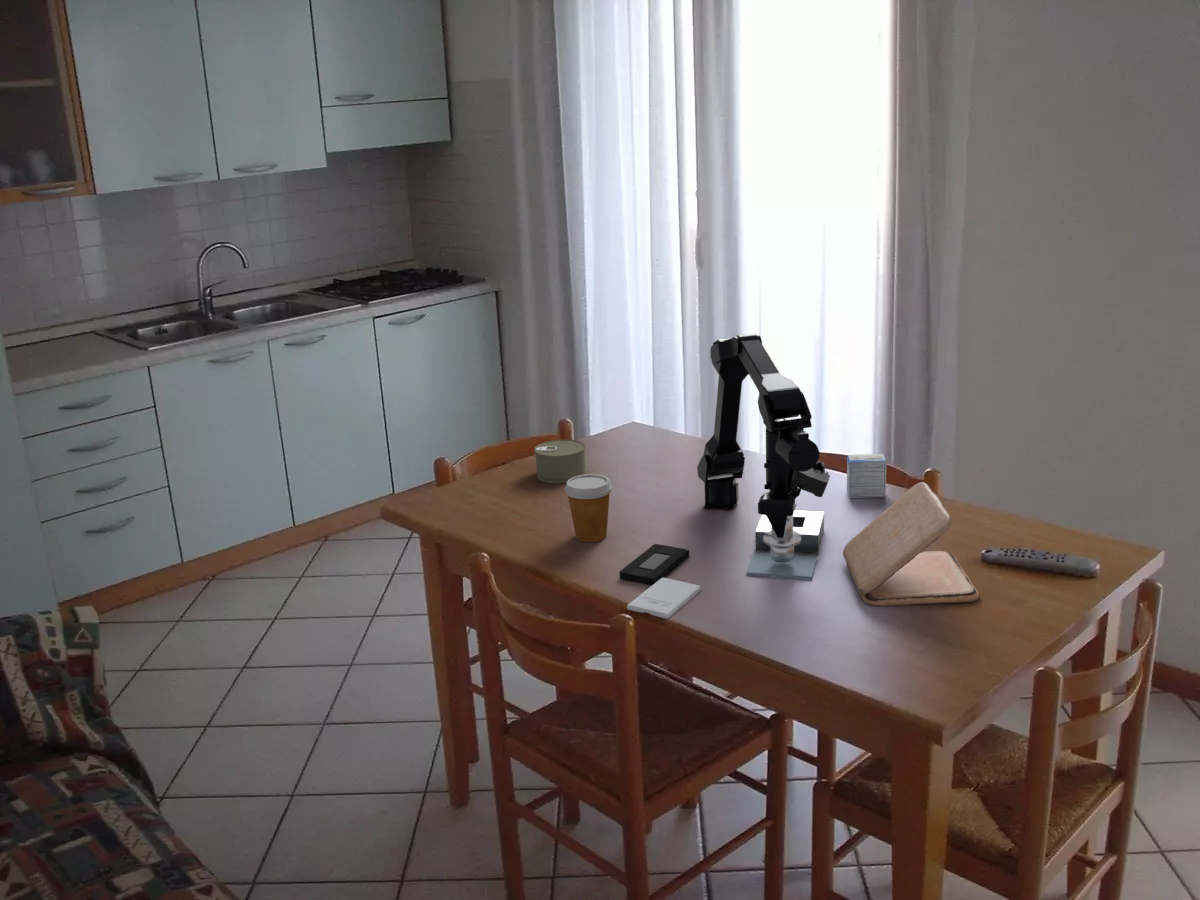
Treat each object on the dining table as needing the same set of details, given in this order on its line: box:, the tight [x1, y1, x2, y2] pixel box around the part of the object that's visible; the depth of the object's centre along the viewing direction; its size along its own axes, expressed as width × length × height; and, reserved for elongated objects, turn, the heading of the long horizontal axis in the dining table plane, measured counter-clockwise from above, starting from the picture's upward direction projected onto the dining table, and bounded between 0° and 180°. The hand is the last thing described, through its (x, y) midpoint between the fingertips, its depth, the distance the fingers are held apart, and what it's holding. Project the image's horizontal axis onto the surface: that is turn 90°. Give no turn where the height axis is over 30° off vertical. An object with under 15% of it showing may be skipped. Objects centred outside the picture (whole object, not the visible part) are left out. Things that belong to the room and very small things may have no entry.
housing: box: [755, 509, 825, 555], centre depth 226 cm, size 12×12×4 cm
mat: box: [746, 552, 818, 581], centre depth 215 cm, size 12×9×1 cm
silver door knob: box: [763, 515, 801, 563], centre depth 213 cm, size 7×7×8 cm
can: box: [533, 439, 587, 484], centre depth 270 cm, size 12×12×7 cm
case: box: [842, 481, 980, 607], centre depth 204 cm, size 20×21×16 cm
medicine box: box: [846, 453, 888, 499], centre depth 246 cm, size 8×4×9 cm, turn 84°
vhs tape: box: [619, 543, 690, 587], centre depth 218 cm, size 8×14×2 cm, turn 149°
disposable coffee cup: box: [564, 473, 613, 543], centre depth 232 cm, size 10×10×12 cm
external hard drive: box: [626, 577, 702, 620], centre depth 205 cm, size 2×8×12 cm
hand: (781, 533), depth 213 cm, fingers closed on silver door knob, 4 cm apart
